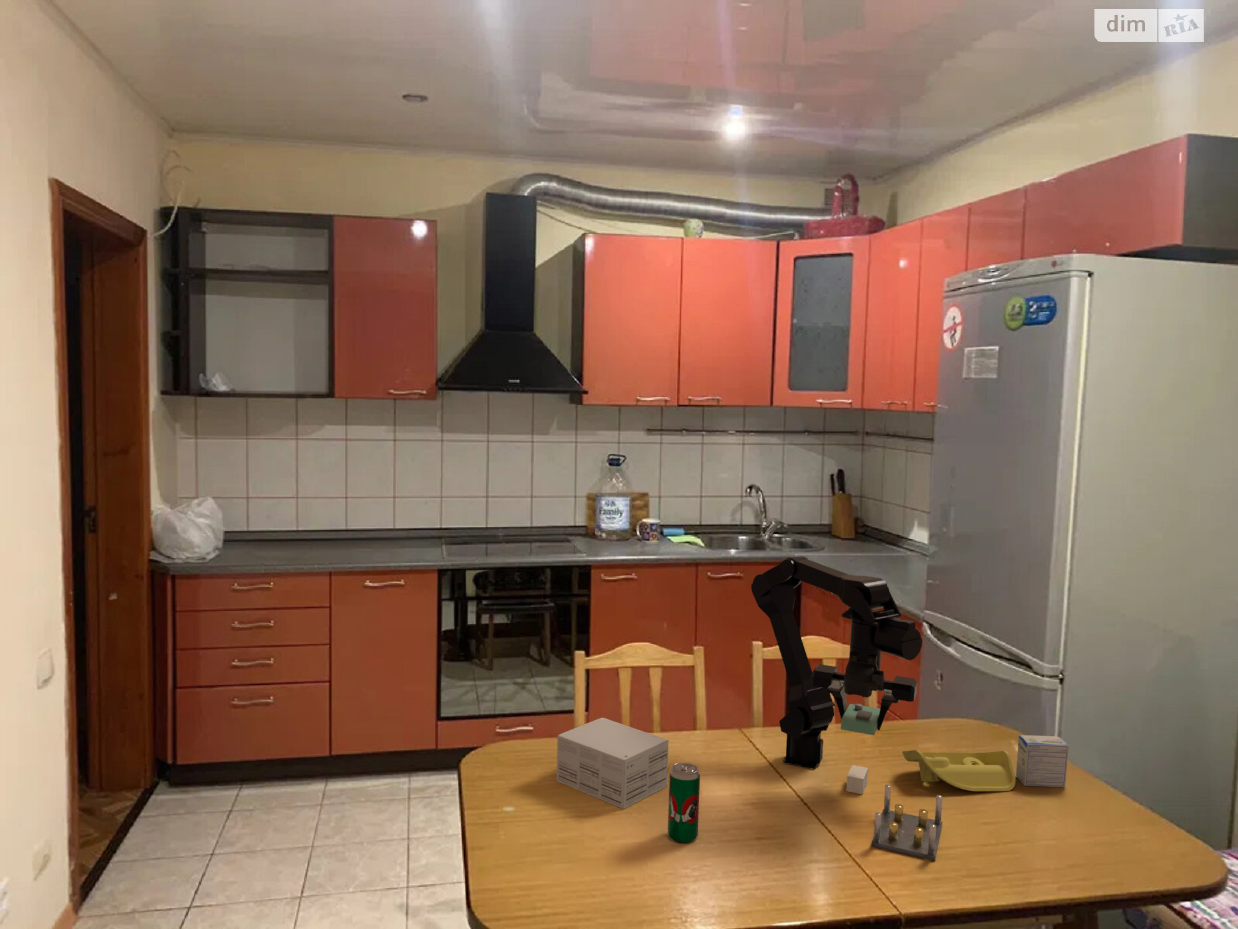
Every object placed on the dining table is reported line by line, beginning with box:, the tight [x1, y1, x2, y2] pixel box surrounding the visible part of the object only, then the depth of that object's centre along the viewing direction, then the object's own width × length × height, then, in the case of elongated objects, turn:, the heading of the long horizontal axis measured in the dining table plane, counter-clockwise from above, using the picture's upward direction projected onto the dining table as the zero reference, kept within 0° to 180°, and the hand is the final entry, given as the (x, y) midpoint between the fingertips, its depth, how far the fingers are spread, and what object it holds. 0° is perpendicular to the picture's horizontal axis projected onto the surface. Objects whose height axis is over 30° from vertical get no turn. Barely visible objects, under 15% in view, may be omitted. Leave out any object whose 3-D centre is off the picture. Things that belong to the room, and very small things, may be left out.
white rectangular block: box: [845, 764, 869, 795], centre depth 172 cm, size 3×5×3 cm, turn 156°
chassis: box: [871, 784, 943, 862], centre depth 154 cm, size 10×13×6 cm
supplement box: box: [556, 716, 669, 810], centre depth 170 cm, size 17×13×9 cm
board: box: [840, 703, 880, 736], centre depth 170 cm, size 6×9×3 cm, turn 156°
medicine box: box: [1015, 734, 1070, 788], centre depth 176 cm, size 8×4×9 cm, turn 88°
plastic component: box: [902, 749, 1016, 792], centre depth 176 cm, size 20×7×10 cm
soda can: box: [667, 762, 701, 844], centre depth 151 cm, size 5×5×12 cm
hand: (861, 726), depth 170 cm, fingers closed on board, 6 cm apart
